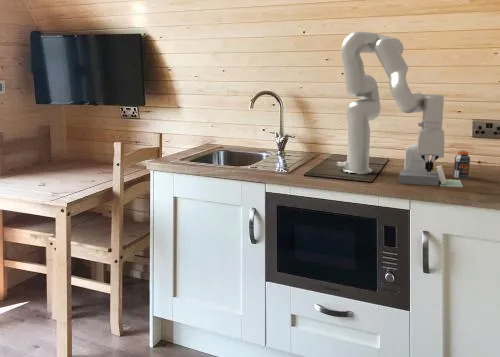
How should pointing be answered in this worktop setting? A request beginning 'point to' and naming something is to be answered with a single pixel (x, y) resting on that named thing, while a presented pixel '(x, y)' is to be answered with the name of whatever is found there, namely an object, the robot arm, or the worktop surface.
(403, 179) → the plate
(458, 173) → the pill bottle
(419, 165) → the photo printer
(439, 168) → the tile
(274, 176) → the worktop surface
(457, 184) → the mat
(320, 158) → the worktop surface
